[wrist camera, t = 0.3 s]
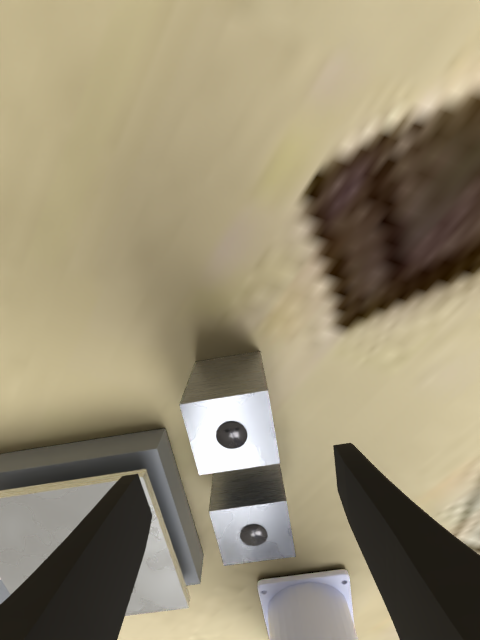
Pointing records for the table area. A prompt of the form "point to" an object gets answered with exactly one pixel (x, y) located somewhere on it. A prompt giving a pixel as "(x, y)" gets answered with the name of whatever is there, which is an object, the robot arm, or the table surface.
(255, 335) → the table surface
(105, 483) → the pan
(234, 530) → the block
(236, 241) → the table surface
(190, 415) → the block
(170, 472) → the scale housing
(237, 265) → the table surface
